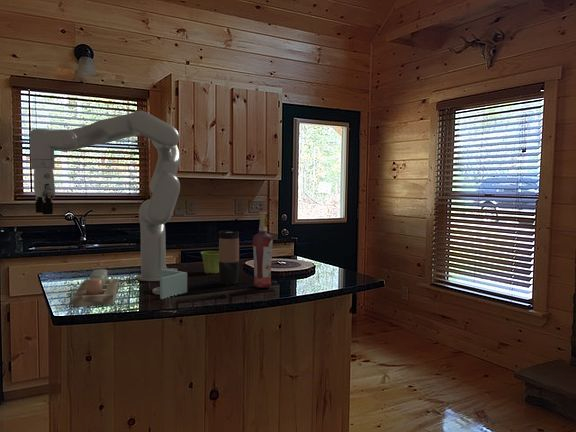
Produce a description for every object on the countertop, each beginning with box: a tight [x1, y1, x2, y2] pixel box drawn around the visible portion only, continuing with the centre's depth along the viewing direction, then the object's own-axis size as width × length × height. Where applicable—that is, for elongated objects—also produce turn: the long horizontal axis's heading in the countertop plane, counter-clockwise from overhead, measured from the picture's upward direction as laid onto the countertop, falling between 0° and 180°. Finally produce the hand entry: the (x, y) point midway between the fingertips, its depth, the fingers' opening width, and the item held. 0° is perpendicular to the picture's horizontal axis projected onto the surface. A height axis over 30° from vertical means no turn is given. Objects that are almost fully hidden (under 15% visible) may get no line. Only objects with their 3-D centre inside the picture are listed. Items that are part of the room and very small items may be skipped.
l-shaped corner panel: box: [151, 269, 188, 300], centre depth 170 cm, size 12×12×8 cm
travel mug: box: [218, 229, 240, 286], centre depth 187 cm, size 8×8×20 cm
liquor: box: [252, 211, 274, 289], centre depth 180 cm, size 7×7×28 cm
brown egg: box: [86, 278, 103, 295], centre depth 157 cm, size 5×5×5 cm
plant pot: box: [200, 250, 219, 274], centre depth 208 cm, size 9×9×9 cm
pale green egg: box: [89, 273, 105, 289], centre depth 165 cm, size 5×5×5 cm
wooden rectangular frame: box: [71, 278, 120, 308], centre depth 165 cm, size 12×26×3 cm, turn 15°
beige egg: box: [92, 268, 108, 284], centre depth 172 cm, size 5×5×5 cm
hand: (44, 213), depth 173 cm, fingers open, 9 cm apart
